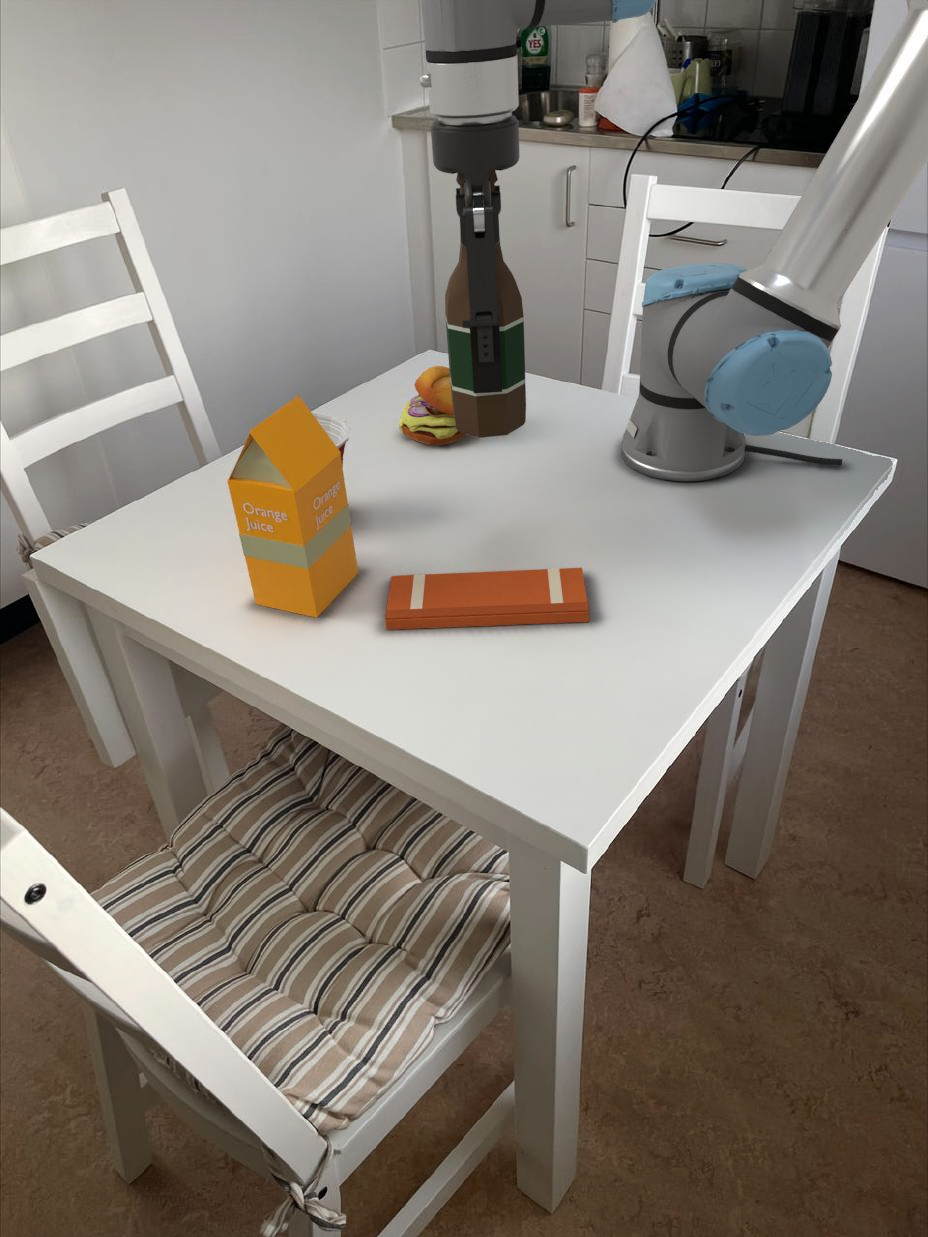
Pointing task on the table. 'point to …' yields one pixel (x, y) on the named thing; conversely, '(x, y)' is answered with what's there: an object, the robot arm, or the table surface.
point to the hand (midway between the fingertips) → (487, 374)
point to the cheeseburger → (431, 410)
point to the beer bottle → (509, 406)
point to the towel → (487, 599)
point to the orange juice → (293, 513)
